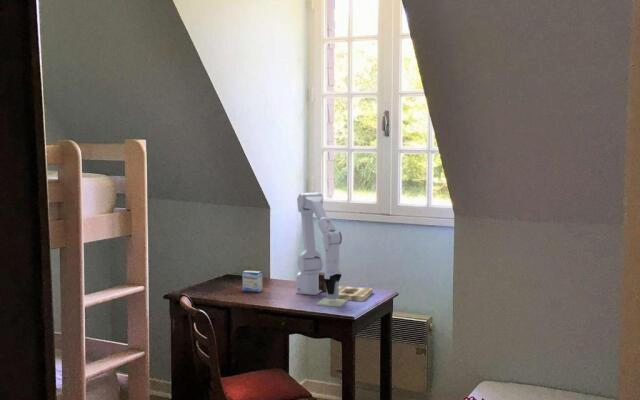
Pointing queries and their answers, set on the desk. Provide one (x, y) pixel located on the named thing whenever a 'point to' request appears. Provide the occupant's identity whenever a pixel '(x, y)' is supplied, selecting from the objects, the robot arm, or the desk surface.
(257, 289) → the medicine box
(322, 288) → the box
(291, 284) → the desk surface
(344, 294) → the pocket board
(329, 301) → the tile
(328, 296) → the slate block
